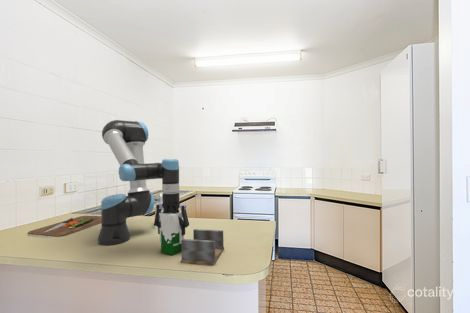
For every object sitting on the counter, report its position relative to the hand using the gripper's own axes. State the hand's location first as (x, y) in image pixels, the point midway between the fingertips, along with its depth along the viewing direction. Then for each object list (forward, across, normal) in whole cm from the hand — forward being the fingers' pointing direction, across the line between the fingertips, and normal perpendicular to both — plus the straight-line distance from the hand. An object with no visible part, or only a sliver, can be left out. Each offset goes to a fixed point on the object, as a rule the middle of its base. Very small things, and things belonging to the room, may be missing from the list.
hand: (171, 241), depth 112 cm
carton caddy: (+4, +16, -2) cm, 17 cm away
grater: (+5, -24, +37) cm, 44 cm away
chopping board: (+5, -82, +29) cm, 87 cm away
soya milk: (+5, 0, 0) cm, 5 cm away
